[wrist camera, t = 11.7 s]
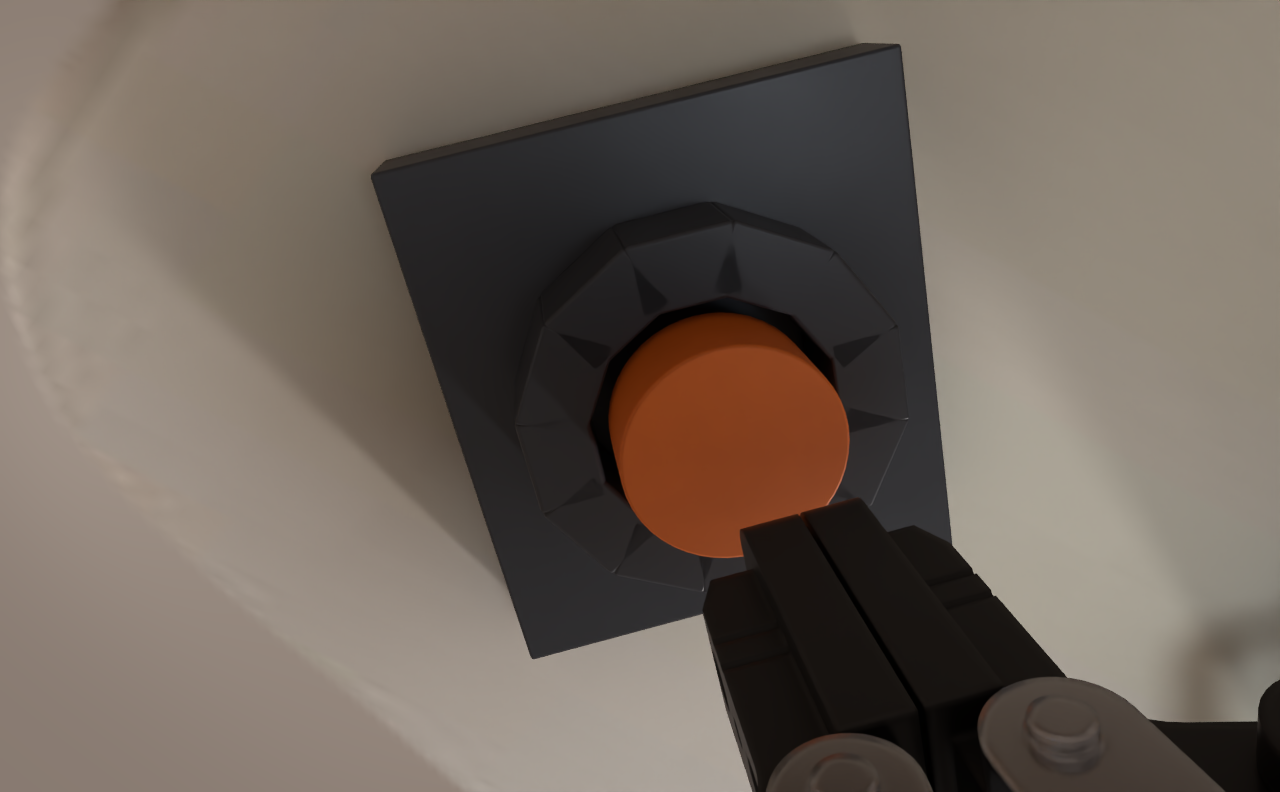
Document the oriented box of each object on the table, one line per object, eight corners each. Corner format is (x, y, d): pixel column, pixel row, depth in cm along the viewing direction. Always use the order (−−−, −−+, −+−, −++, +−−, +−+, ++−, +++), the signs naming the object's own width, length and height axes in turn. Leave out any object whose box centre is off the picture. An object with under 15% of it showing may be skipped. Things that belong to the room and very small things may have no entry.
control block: (382, 161, 16) (351, 192, 13) (865, 42, 17) (950, 44, 13) (529, 612, 20) (534, 722, 17) (920, 508, 21) (996, 597, 17)
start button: (585, 342, 15) (594, 380, 13) (798, 287, 15) (833, 318, 13) (634, 529, 16) (647, 584, 15) (829, 477, 16) (864, 526, 15)
